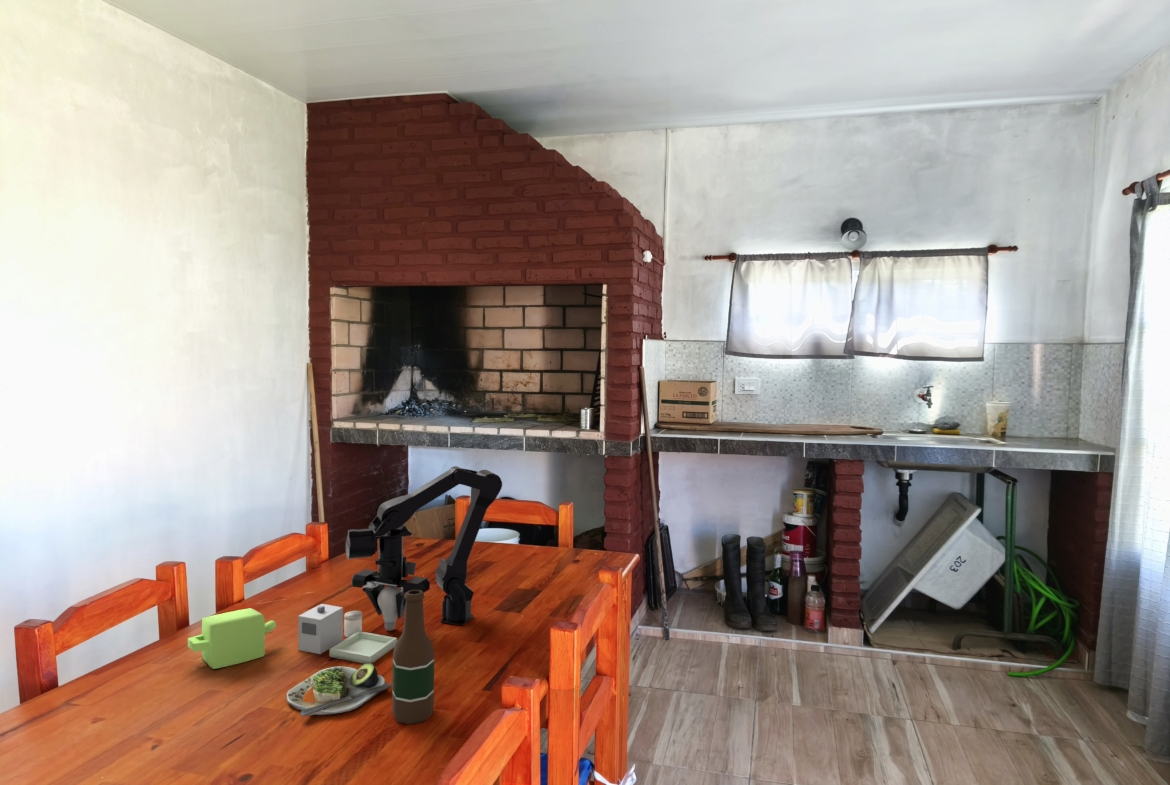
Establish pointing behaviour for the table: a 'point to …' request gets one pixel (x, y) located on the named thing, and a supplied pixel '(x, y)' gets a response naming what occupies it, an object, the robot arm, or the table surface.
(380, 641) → the tray
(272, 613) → the table surface
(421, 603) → the beer bottle
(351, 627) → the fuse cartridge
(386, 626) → the lightbulb
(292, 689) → the salad plate
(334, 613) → the box
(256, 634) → the gearbox
